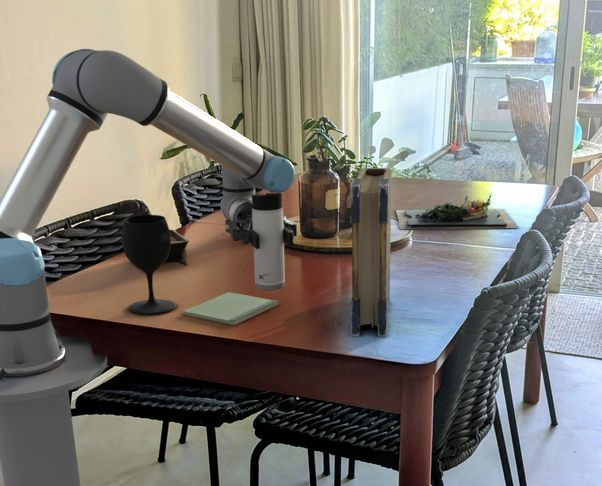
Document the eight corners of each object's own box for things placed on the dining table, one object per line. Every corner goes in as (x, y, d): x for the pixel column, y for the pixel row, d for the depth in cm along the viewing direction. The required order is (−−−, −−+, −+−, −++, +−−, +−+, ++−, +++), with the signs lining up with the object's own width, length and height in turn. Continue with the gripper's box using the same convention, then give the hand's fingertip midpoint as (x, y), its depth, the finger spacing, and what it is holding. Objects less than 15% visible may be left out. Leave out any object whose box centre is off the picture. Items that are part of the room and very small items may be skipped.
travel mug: (262, 292, 177) (258, 195, 170) (250, 284, 183) (246, 190, 175) (290, 288, 179) (287, 192, 172) (278, 280, 185) (275, 187, 178)
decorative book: (386, 336, 171) (388, 185, 160) (350, 335, 172) (350, 185, 161) (391, 300, 193) (393, 164, 182) (359, 299, 194) (359, 164, 183)
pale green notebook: (234, 325, 179) (234, 320, 179) (183, 314, 187) (183, 310, 186) (278, 304, 192) (278, 300, 191) (228, 295, 199) (228, 291, 199)
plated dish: (502, 208, 281) (503, 186, 278) (519, 229, 255) (520, 205, 252) (394, 211, 283) (394, 189, 280) (400, 232, 257) (400, 208, 254)
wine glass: (119, 312, 189) (110, 222, 182) (146, 298, 198) (138, 212, 191) (158, 317, 185) (151, 225, 178) (185, 303, 194) (178, 215, 187)
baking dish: (183, 259, 237) (177, 223, 235) (195, 265, 221) (188, 226, 218) (131, 269, 234) (124, 232, 231) (139, 275, 217) (131, 236, 215)
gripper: (290, 230, 197) (320, 254, 176) (207, 237, 192) (228, 263, 171) (290, 197, 194) (320, 218, 173) (205, 204, 189) (226, 226, 169)
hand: (274, 240), depth 172 cm, fingers closed on travel mug, 6 cm apart
